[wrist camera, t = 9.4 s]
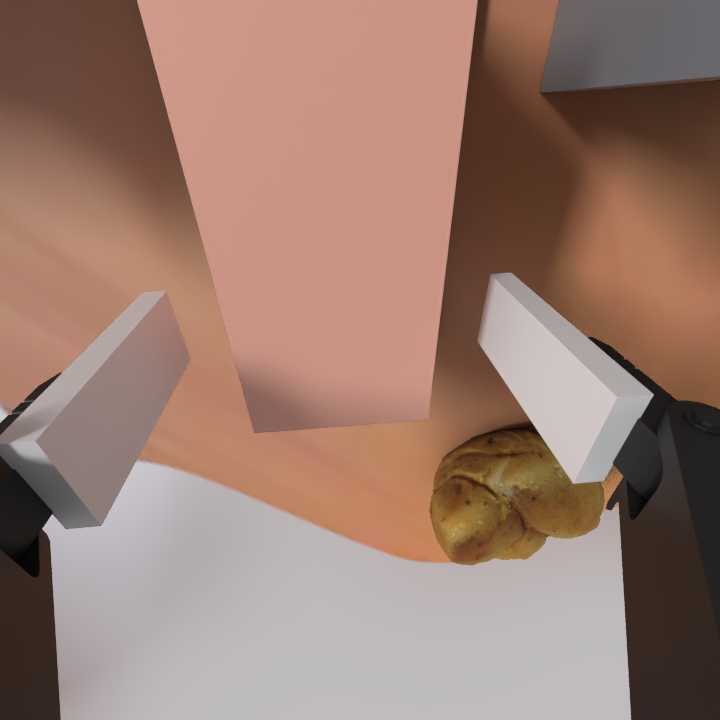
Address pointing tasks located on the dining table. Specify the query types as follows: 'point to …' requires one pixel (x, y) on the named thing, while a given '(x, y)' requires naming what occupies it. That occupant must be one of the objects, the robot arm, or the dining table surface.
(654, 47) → the box
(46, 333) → the dining table surface
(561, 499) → the bread roll
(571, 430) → the robot arm
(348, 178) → the salmon pink rectangular block
